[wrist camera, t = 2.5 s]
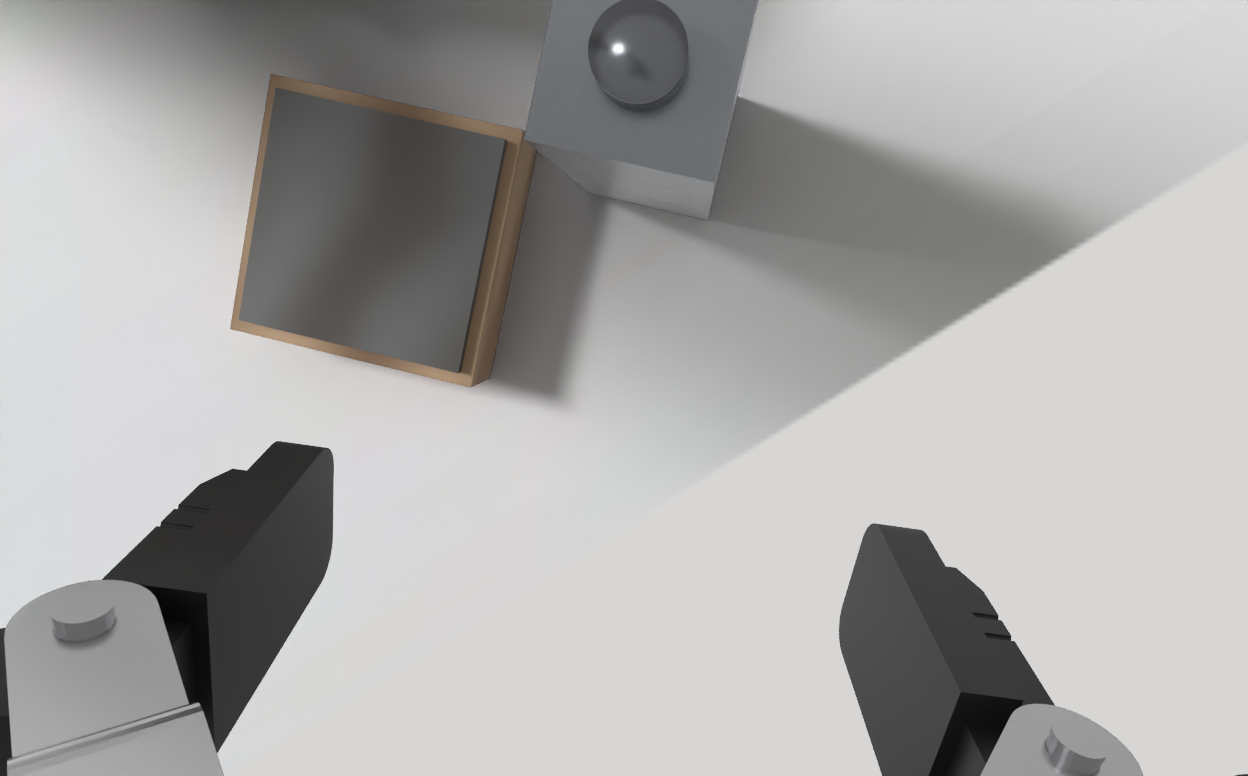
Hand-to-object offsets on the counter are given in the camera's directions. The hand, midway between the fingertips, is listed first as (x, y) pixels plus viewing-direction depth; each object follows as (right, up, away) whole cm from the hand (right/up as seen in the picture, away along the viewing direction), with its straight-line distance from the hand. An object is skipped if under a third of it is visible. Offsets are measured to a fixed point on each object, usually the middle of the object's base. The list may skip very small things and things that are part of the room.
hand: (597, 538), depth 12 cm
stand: (-9, +9, +23) cm, 26 cm away
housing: (+2, +12, +21) cm, 24 cm away
